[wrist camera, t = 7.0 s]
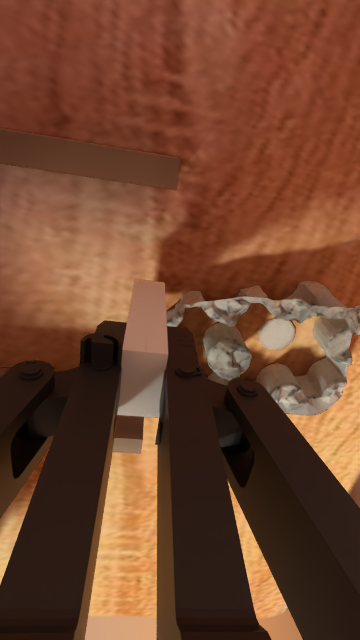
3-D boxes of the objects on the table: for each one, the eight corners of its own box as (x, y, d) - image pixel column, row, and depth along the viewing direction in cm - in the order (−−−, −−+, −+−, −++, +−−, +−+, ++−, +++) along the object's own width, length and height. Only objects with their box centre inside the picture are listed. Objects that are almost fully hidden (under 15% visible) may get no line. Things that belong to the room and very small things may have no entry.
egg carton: (344, 274, 19) (387, 303, 16) (321, 380, 23) (353, 423, 19) (158, 281, 19) (159, 313, 15) (164, 389, 22) (165, 435, 19)
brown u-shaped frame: (144, 392, 22) (140, 453, 18) (-97, 372, 20) (-169, 435, 16) (174, 156, 16) (180, 159, 11) (-169, 99, 14) (-319, 76, 10)
